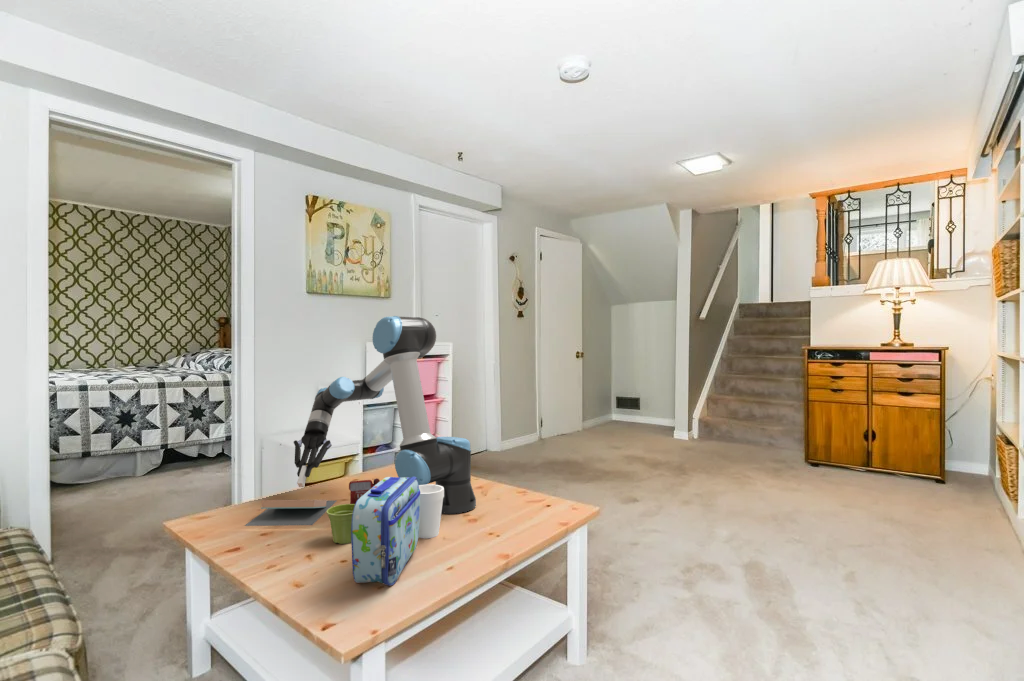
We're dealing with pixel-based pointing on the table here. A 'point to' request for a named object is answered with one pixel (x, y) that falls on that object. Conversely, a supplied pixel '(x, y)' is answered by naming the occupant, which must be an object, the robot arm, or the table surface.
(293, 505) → the terracotta tile
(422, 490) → the foam cup
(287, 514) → the rubber mat
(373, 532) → the lunch box
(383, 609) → the table surface
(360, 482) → the toy fire truck
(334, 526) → the plant pot
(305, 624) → the table surface
